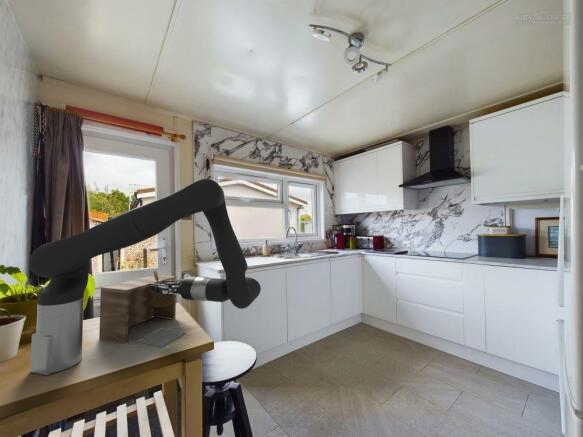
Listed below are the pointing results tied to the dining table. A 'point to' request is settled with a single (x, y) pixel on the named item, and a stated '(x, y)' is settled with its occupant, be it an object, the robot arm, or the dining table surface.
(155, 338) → the grey mat
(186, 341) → the dining table surface
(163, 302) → the utensil holder
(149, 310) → the open box
